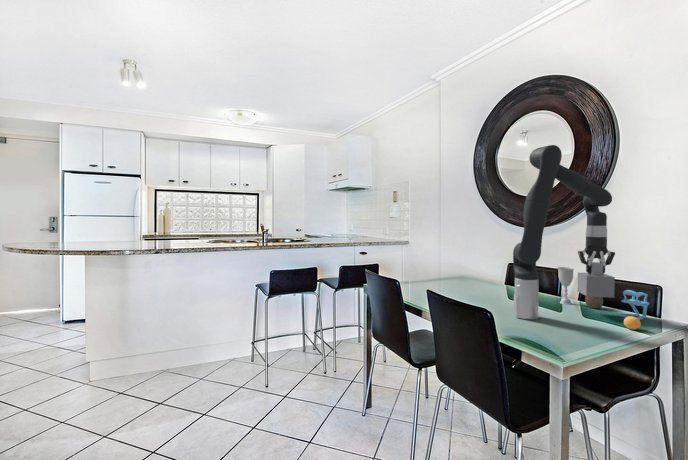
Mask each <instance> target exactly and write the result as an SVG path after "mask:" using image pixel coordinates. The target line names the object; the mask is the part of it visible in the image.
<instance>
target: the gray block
mask: <svg viewBox="0 0 688 460" xmlns="http://www.w3.org/2000/svg"><path fill="white" fill-rule="evenodd" d="M615 280H616V279H615V277H614V276H611V275H609V274H606V273H604V274H603V263H600V262H599V261H592V264H591V274H588V272H577V288H576V289H577V292H578V293H580V294H582V295H584V296H585V297H586V296H593V297H602V298H615V286H616V285H615V284H616V283H615Z"/></svg>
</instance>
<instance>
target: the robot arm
mask: <svg viewBox="0 0 688 460" xmlns="http://www.w3.org/2000/svg"><path fill="white" fill-rule="evenodd" d="M562 155H563V154H562V150H561V148H560V147H559V146H558V145H556V144H549V145H545V146H541V147H538V148H535V149H533V150H532V151H531V153H530V154H529V156H528V157H529V163H530V165H531V166H533V167H534V168H535V169H537V170H538V175H537V178H536V180H535V182H534V184H533V185H532V187H531V188H530V190H529V192H528V193H527V195H526V197H525V201H524V207H523V213H522V214H523V235H522V238H521V241H520V242H519V243H517V244H515V246H514V248H513V250H512V251H513V252H512V261H513V262H512V263H513V273H514V293H513V315H514V316H515V318H516V319H524V320H539V316H540V315H539V312H540V311H539V304H540V303H539V272H538V269H537V262H538V261H539V259H540V257H541V254H542V244H543V243H542V242H543V234H544V229H545V227H546V226H545V225H546V222H547V217H548V214H549V213H548V212H549V209H550V204H551V199H552V198H551V197H552V194H553V189H554V186H555V185H554V184H555V181H556V180H557V181H559V182H560V183H562V184H563V185H564V186H566V187H567V188H568V189H569V190H571V191H572V192H573V193H574V194H576V195H577V196H580V197H583V198H582V205H583V208H584V211H585V216H586V230H585V248H584V250H583V249H582V250H578V251H577V254H578V258H579V260H580V263H582V265H583V264H584V265H585V271H586V272H585V273H588V274H591V264H592V262H594V259H598V262H600V263H603V274H606V266H611V265H612V262H613V259H614V258H615V256H616V252H615V251H611V250H608V227H607V226H608V222H607V220H608V216H607V214H606V212H602V211H600V208H601V207H608V206H609V205H611V203H612V202H613V196H612V194H611V192H609V190H607V189H606V188H604V187H602V186H599V185H597V184H595V183H592V182H591V181H590V180H589V179H588V178H586V177H585V176H584V175H582V174H580V173H579V172H577V171H575V170H572V169H571V168H568V167H565V166H563V165H562V164H561V161H562ZM585 255H587V257H585ZM605 256H606V259H605Z"/></svg>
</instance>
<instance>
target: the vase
mask: <svg viewBox="0 0 688 460" xmlns="http://www.w3.org/2000/svg"><path fill="white" fill-rule="evenodd" d="M603 298H604V297H593V296H585V298H584V301H585V304H586V306H587V307H588V308H590V309H594V308H599V309H600V308H602V306H603V305H604V299H603Z"/></svg>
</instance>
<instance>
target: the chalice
mask: <svg viewBox="0 0 688 460" xmlns="http://www.w3.org/2000/svg"><path fill="white" fill-rule="evenodd" d="M574 270H575V268H574V267H569V266H568V267H567V266H566V267H565V266H558V267H557V271H558V272H557V273H558V280H559V282H560V283H561V285H562V286H563V287H564V289H563V295H564V297H563V298H561V300H560V302H559V303H560V304H562V305H569V304H570V305H572V302H571V299H570V298H568V287H570V285H571V283H572V282H573V279H574Z"/></svg>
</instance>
